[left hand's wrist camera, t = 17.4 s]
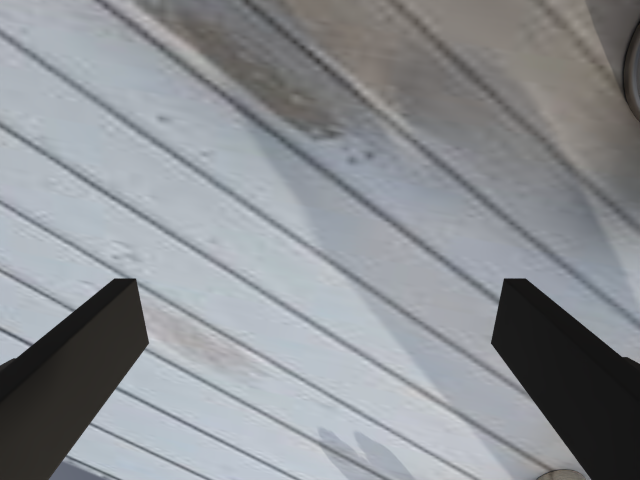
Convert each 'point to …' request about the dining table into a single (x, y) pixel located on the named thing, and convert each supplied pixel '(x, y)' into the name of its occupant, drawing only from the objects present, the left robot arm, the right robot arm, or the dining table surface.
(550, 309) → the left robot arm
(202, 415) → the dining table surface
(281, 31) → the dining table surface
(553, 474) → the tin
